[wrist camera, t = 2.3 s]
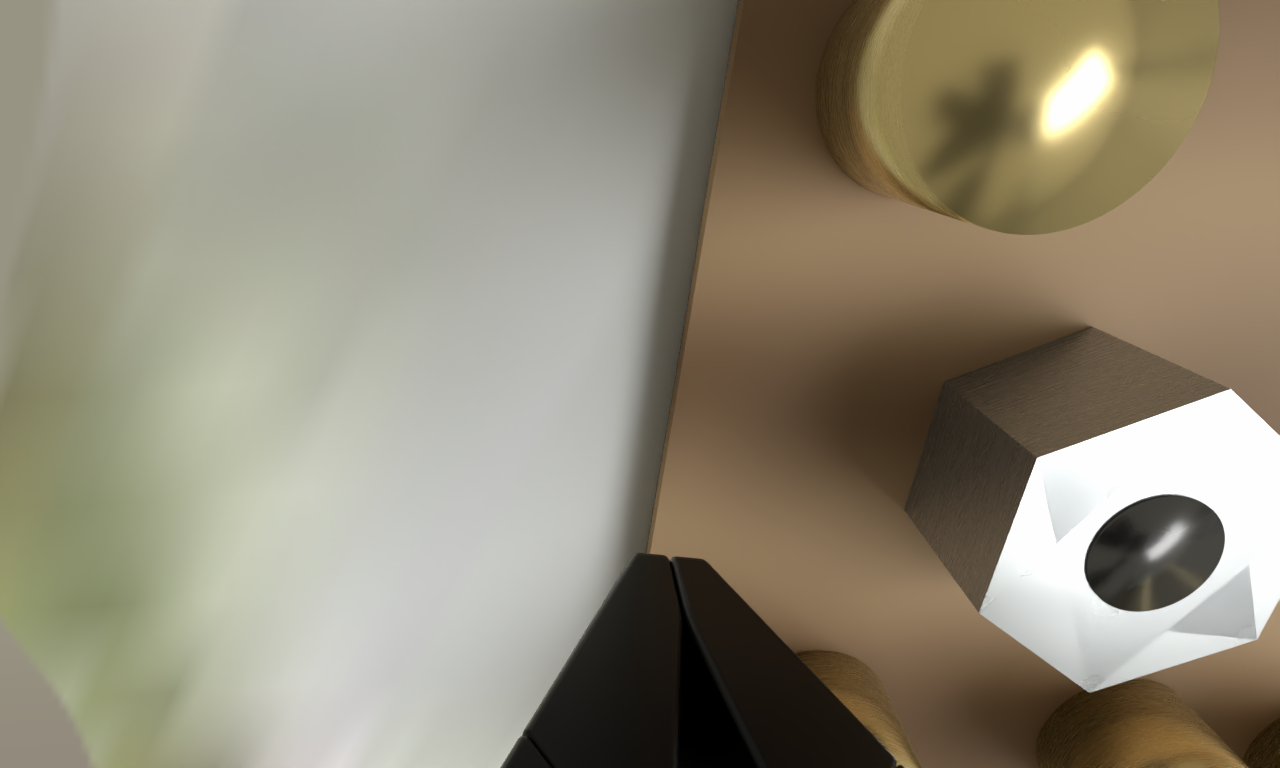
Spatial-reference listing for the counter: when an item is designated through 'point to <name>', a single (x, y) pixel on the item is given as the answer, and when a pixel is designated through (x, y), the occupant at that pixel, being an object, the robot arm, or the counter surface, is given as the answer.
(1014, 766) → the walnut board
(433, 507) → the counter surface
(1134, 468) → the steel nut
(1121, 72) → the brass spacers
